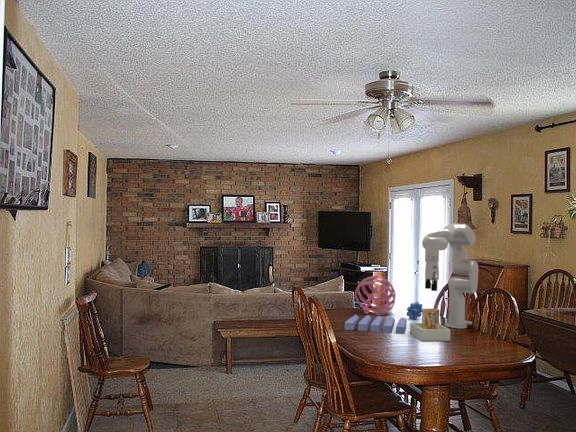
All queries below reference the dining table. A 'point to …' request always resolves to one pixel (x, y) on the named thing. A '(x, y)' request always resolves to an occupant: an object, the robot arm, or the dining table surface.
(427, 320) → the candy box
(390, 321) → the blocks
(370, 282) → the pink lattice ball
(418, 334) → the crate
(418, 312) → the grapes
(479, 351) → the dining table surface
